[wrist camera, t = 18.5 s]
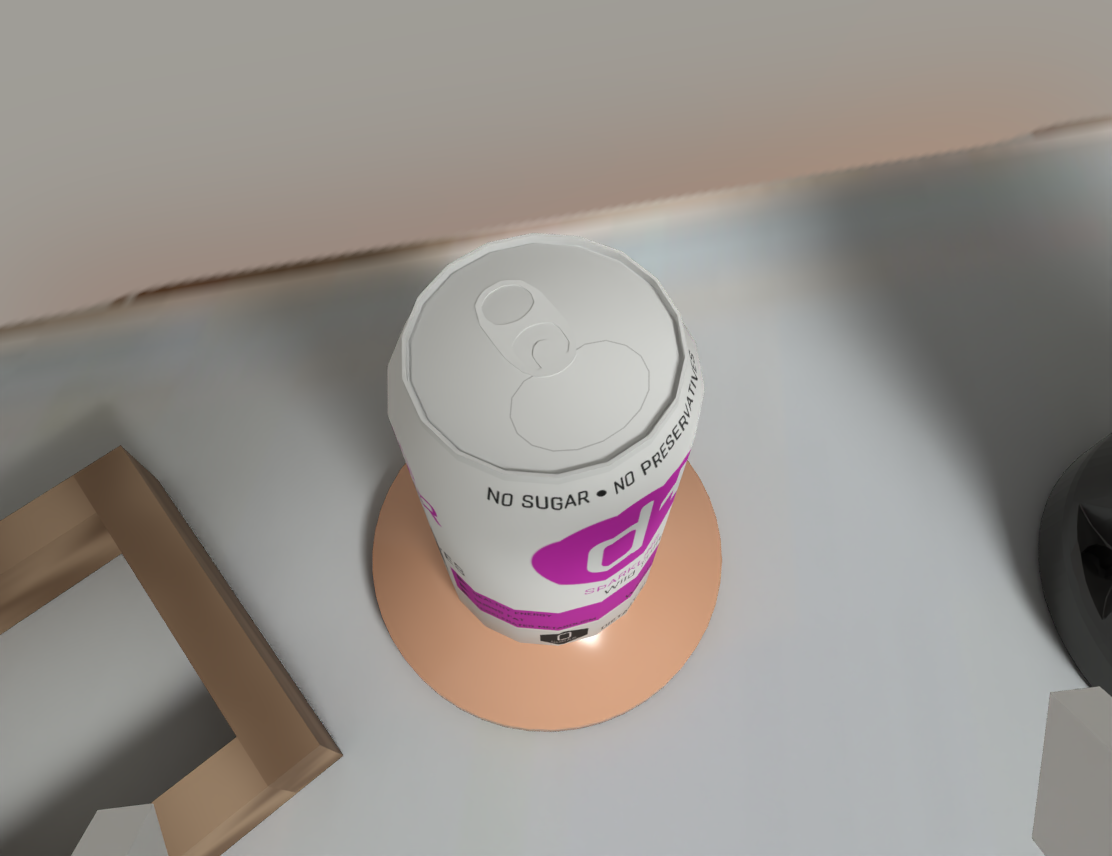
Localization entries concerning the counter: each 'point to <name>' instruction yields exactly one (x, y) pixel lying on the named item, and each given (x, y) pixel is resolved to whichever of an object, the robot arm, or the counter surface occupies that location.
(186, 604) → the walnut collar
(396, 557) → the terracotta disc
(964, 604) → the counter surface
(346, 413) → the counter surface
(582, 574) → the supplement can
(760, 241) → the counter surface
